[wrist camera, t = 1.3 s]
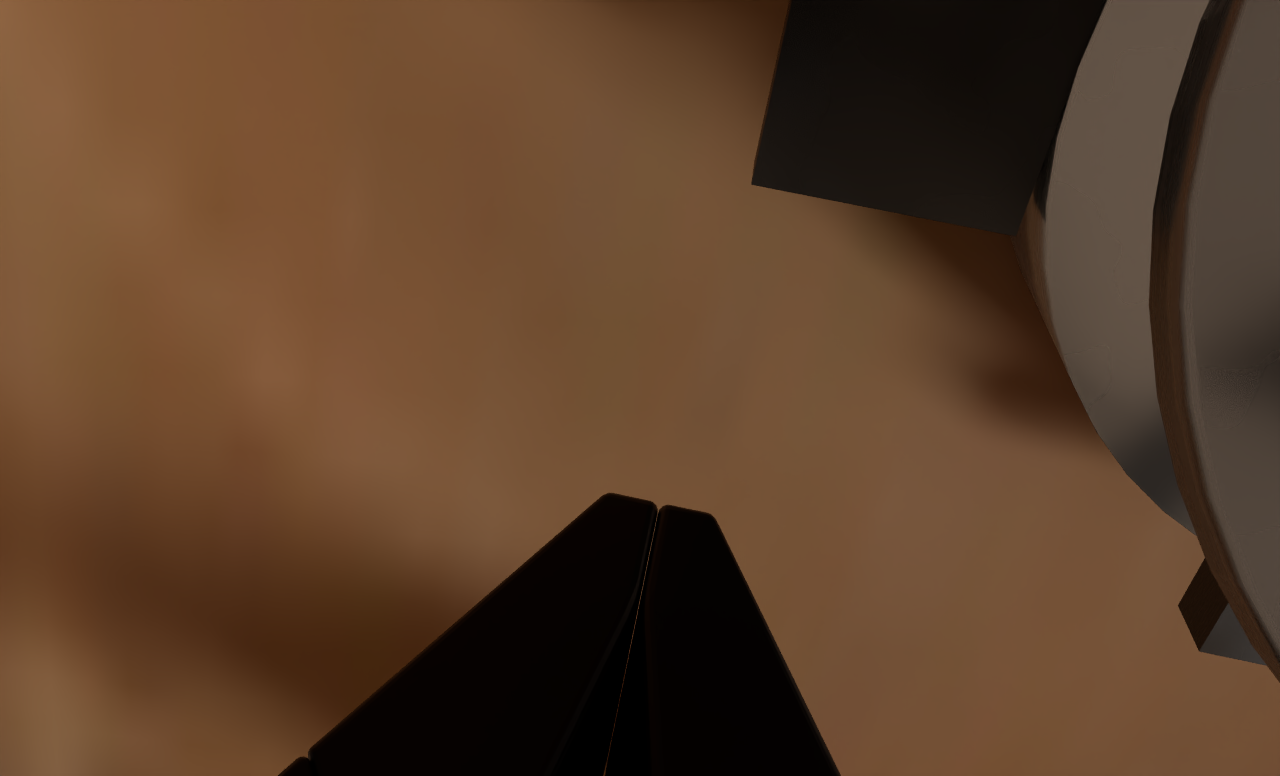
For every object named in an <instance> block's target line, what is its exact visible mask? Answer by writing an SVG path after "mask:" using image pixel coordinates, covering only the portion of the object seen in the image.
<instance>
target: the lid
mask: <svg viewBox="0 0 1280 776" xmlns="http://www.w3.org/2000/svg"><path fill="white" fill-rule="evenodd" d="M1149 314H1150V325H1151V336H1152V347H1153V359H1154V370H1155V381H1156V392H1157V399H1158V403H1159V407H1160V412H1161V416H1162V421H1163V425H1164V429H1165V434H1166V438H1167V442H1168V447H1169V451H1170V455H1171V460H1172V464H1173V468H1174V473H1175V477H1176V481H1177V485H1178V488H1179V490H1180V493H1181V496H1182V498H1183V501H1184V503H1185V506H1186V509H1187V511H1188V514H1189V517H1190V519H1191V522H1192V524H1193V527H1194V530H1195V532H1196V535H1197V538H1198V540H1199V543H1200V545H1201V548H1202V551H1203V553H1204V556H1205V559H1206V561H1207V564H1208V566H1209V568H1210V570H1211V572H1212V574H1213V576H1214V578H1215V579H1216V581H1217V583H1218V585H1219V587H1220V588H1221V590H1222V592H1223V594H1224V596H1225V598H1226V599H1227V601H1228V603H1229V605H1230V607H1231V608H1232V610H1233V612H1234V614H1235V616H1236V618H1237V619H1238V621H1239V623H1240V625H1241V627H1242V628H1243V630H1244V632H1245V634H1246V636H1247V638H1248V639H1249V641H1250V643H1251V645H1252V646H1253V648H1254V649H1255V650H1256V652H1257V653H1258V654H1259V656H1260V657H1261V658H1262V660H1263V661H1264V662H1265V664H1266V665H1267V666H1268V668H1269V669H1270V670H1271V672H1272V673H1273V674H1274V676H1275V677H1276V678H1277V680H1278V681H1279V682H1280V0H1209V3H1208V5H1207V7H1206V9H1205V11H1204V13H1203V16H1202V18H1201V20H1200V22H1199V25H1198V29H1197V32H1196V35H1195V38H1194V41H1193V44H1192V48H1191V51H1190V54H1189V57H1188V60H1187V63H1186V67H1185V70H1184V73H1183V76H1182V79H1181V82H1180V86H1179V89H1178V92H1177V95H1176V98H1175V101H1174V104H1173V108H1172V111H1171V114H1170V118H1169V124H1168V129H1167V135H1166V140H1165V146H1164V152H1163V157H1162V163H1161V168H1160V174H1159V179H1158V185H1157V191H1156V196H1155V202H1154V207H1153V220H1152V242H1151V264H1150V286H1149Z"/></svg>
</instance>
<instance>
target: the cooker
mask: <svg viewBox="0 0 1280 776" xmlns="http://www.w3.org/2000/svg"><path fill="white" fill-rule="evenodd" d="M1208 3H1209V0H789V5H788V10H787V14H786V19H785V23H784V28H783V33H782V37H781V42H780V46H779V51H778V55H777V60H776V65H775V69H774V74H773V78H772V83H771V88H770V92H769V97H768V101H767V106H766V111H765V115H764V120H763V124H762V129H761V133H760V138H759V143H758V147H757V152H756V156H755V161H754V169H753V176H752V184H751V185H756V186H761V187H766V188H771V189H777V190H782V191H787V192H792V193H797V194H802V195H807V196H812V197H817V198H823V199H828V200H833V201H838V202H843V203H848V204H853V205H858V206H863V207H869V208H874V209H879V210H884V211H889V212H894V213H899V214H904V215H909V216H914V217H920V218H925V219H930V220H935V221H940V222H945V223H950V224H955V225H960V226H966V227H971V228H976V229H981V230H986V231H991V232H996V233H1001V234H1006V235H1010V238H1011V241H1012V244H1013V247H1014V250H1015V254H1016V257H1017V260H1018V263H1019V266H1020V270H1021V272H1022V274H1023V277H1024V279H1025V281H1026V283H1027V285H1028V287H1029V290H1030V292H1031V294H1032V296H1033V298H1034V300H1035V303H1036V305H1037V307H1038V309H1039V311H1040V314H1041V316H1042V318H1043V320H1044V322H1045V324H1046V327H1047V329H1048V331H1049V333H1050V335H1051V337H1052V340H1053V342H1054V344H1055V346H1056V348H1057V350H1058V353H1059V355H1060V357H1061V359H1062V361H1063V364H1064V366H1065V368H1066V370H1067V372H1068V374H1069V377H1070V379H1071V381H1072V383H1073V385H1074V387H1075V389H1076V391H1077V393H1078V395H1079V397H1080V399H1081V401H1082V403H1083V406H1084V408H1085V410H1086V412H1087V414H1088V416H1089V418H1090V420H1091V422H1092V424H1093V426H1094V428H1095V430H1096V432H1097V433H1098V435H1099V436H1100V438H1101V439H1102V440H1103V442H1104V443H1105V445H1106V446H1107V447H1108V449H1109V450H1110V452H1111V453H1112V454H1113V456H1114V457H1115V458H1116V460H1117V461H1118V463H1119V464H1120V465H1121V467H1122V468H1123V470H1124V471H1125V472H1126V474H1127V475H1128V476H1129V477H1130V478H1131V479H1132V480H1133V481H1134V482H1135V483H1136V484H1137V485H1138V486H1139V487H1140V488H1141V489H1142V490H1143V491H1144V492H1145V493H1146V494H1147V495H1148V496H1149V497H1150V498H1151V499H1152V500H1153V501H1154V502H1155V503H1156V504H1157V505H1158V506H1159V507H1160V508H1161V509H1162V510H1163V511H1164V512H1165V513H1166V514H1168V515H1169V516H1170V517H1172V518H1173V519H1175V520H1176V521H1177V522H1179V523H1180V524H1181V525H1183V526H1184V527H1185V528H1187V529H1188V530H1189V531H1191V532H1192V533H1193V534H1195V535H1196V532H1195V530H1194V527H1193V524H1192V522H1191V519H1190V517H1189V514H1188V511H1187V509H1186V506H1185V503H1184V501H1183V498H1182V496H1181V493H1180V490H1179V488H1178V485H1177V481H1176V477H1175V473H1174V468H1173V464H1172V460H1171V455H1170V451H1169V447H1168V442H1167V438H1166V434H1165V429H1164V425H1163V421H1162V416H1161V412H1160V407H1159V403H1158V399H1157V392H1156V381H1155V370H1154V359H1153V347H1152V336H1151V325H1150V314H1149V286H1150V264H1151V242H1152V220H1153V207H1154V202H1155V196H1156V191H1157V185H1158V179H1159V174H1160V168H1161V163H1162V157H1163V152H1164V146H1165V140H1166V135H1167V129H1168V124H1169V118H1170V114H1171V111H1172V108H1173V104H1174V101H1175V98H1176V95H1177V92H1178V89H1179V86H1180V82H1181V79H1182V76H1183V73H1184V70H1185V67H1186V63H1187V60H1188V57H1189V54H1190V51H1191V48H1192V44H1193V41H1194V38H1195V35H1196V32H1197V29H1198V25H1199V22H1200V20H1201V18H1202V16H1203V13H1204V11H1205V9H1206V7H1207V5H1208ZM1196 536H1197V535H1196ZM1178 607H1179V609H1180V611H1181V613H1182V615H1183V618H1184V620H1185V622H1186V624H1187V626H1188V628H1189V630H1190V633H1191V635H1192V637H1193V639H1194V641H1195V643H1196V646H1197V648H1198V650H1199V651H1200V652H1205V653H1210V654H1214V655H1219V656H1224V657H1229V658H1233V659H1238V660H1243V661H1248V662H1252V663H1257V664H1262V665H1266V664H1265V662H1264V661H1263V660H1262V658H1261V657H1260V656H1259V654H1258V653H1257V652H1256V650H1255V649H1254V648H1253V646H1252V645H1251V643H1250V641H1249V639H1248V638H1247V636H1246V634H1245V632H1244V630H1243V628H1242V627H1241V625H1240V623H1239V621H1238V619H1237V618H1236V616H1235V614H1234V612H1233V610H1232V608H1231V607H1230V605H1229V603H1228V601H1227V599H1226V598H1225V596H1224V594H1223V592H1222V590H1221V588H1220V587H1219V585H1218V583H1217V581H1216V579H1215V578H1214V576H1213V574H1212V572H1211V570H1210V568H1209V566H1208V564H1207V561H1206V559H1204V561H1203V562H1202V564H1201V566H1200V568H1199V569H1198V571H1197V573H1196V575H1195V576H1194V578H1193V580H1192V582H1191V584H1190V585H1189V587H1188V589H1187V591H1186V592H1185V594H1184V596H1183V598H1182V599H1181V601H1180V603H1179V605H1178Z"/></svg>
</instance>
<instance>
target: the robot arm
mask: <svg viewBox="0 0 1280 776" xmlns="http://www.w3.org/2000/svg"><path fill="white" fill-rule="evenodd" d="M657 513H658V516H657ZM656 518H657V521H656ZM655 523H656V526H655ZM654 528H655V531H654ZM653 533H654V536H653ZM652 538H653V541H652ZM651 542H652V546H651ZM650 547H651V551H650ZM649 552H650V555H649ZM648 557H649V560H648ZM647 562H648V565H647ZM646 567H647V570H646ZM645 572H646V575H645ZM644 577H645V580H644ZM643 582H644V585H643ZM642 587H643V590H642ZM641 591H642V595H641ZM640 596H641V599H640ZM639 601H640V604H639ZM638 606H639V609H638ZM637 611H638V614H637ZM636 616H637V619H636ZM635 621H636V624H635ZM634 626H635V629H634ZM633 630H634V634H633ZM632 635H633V639H632ZM631 640H632V643H631ZM630 645H631V648H630ZM629 650H630V653H629ZM628 655H629V658H628ZM627 660H628V663H627ZM626 665H627V668H626ZM625 670H626V673H625ZM624 674H625V678H624ZM623 679H624V683H623ZM622 684H623V688H622ZM621 689H622V692H621ZM620 694H621V697H620ZM619 699H620V702H619ZM618 704H619V707H618ZM617 709H618V712H617ZM616 714H617V717H616ZM615 718H616V722H615ZM614 723H615V727H614ZM613 728H614V732H613ZM612 733H613V736H612ZM611 738H612V741H611ZM610 743H611V746H610ZM609 748H610V751H609ZM608 753H609V756H608ZM607 758H608V761H607ZM606 762H607V767H606V773H605V776H841V775H840V773H839V771H838V769H837V767H836V765H835V763H834V761H833V758H832V756H831V754H830V752H829V750H828V748H827V746H826V744H825V742H824V740H823V738H822V736H821V734H820V732H819V730H818V728H817V726H816V724H815V722H814V720H813V717H812V715H811V713H810V711H809V709H808V707H807V705H806V703H805V701H804V699H803V697H802V695H801V693H800V691H799V689H798V687H797V685H796V683H795V681H794V678H793V676H792V674H791V672H790V670H789V668H788V666H787V664H786V662H785V660H784V658H783V656H782V654H781V652H780V650H779V648H778V646H777V644H776V642H775V640H774V637H773V635H772V633H771V631H770V629H769V627H768V625H767V623H766V621H765V619H764V617H763V615H762V613H761V611H760V609H759V607H758V605H757V603H756V601H755V599H754V596H753V594H752V592H751V590H750V588H749V586H748V584H747V582H746V580H745V578H744V576H743V574H742V572H741V570H740V568H739V566H738V564H737V562H736V560H735V557H734V555H733V553H732V551H731V549H730V547H729V545H728V543H727V541H726V539H725V537H724V535H723V533H722V531H721V529H720V527H719V525H718V523H717V521H716V519H715V518H714V517H713V516H712V515H711V514H709V513H706V512H701V511H696V510H691V509H687V508H682V507H677V506H672V505H665V506H663V507H662V508H661V509H660V510H659V512H658V509H657V506H656V505H655V504H654V503H653V502H651V501H648V500H644V499H639V498H634V497H629V496H625V495H620V494H615V493H607V494H604V495H603V496H601V497H600V498H599V499H598V500H597V501H595V502H594V503H593V504H592V505H591V506H590V507H589V508H587V509H586V510H585V511H584V512H583V513H582V514H580V515H579V516H578V517H577V518H576V519H575V520H574V521H572V522H571V523H570V524H569V525H568V526H567V527H565V528H564V529H563V530H562V531H561V532H560V533H558V534H557V535H556V536H555V537H554V538H553V539H552V540H550V541H549V542H548V543H547V544H546V545H545V546H543V547H542V548H541V549H540V550H539V551H538V552H537V553H535V554H534V555H533V556H532V557H531V558H530V559H528V560H527V561H526V562H525V563H524V564H523V565H521V566H520V567H519V568H518V569H517V570H516V571H515V572H513V573H512V574H511V575H510V576H509V577H508V578H506V579H505V580H504V581H503V582H502V583H501V584H500V585H498V586H497V587H496V588H495V589H494V590H493V591H491V592H490V593H489V594H488V595H487V596H486V597H484V598H483V599H482V600H481V601H480V602H479V603H478V604H476V605H475V606H474V607H473V608H472V609H471V610H469V611H468V612H467V613H466V614H465V615H464V616H463V617H461V618H460V619H459V620H458V621H457V622H456V623H454V624H453V625H452V626H451V627H450V628H449V629H447V630H446V631H445V632H444V633H443V634H442V635H441V636H439V637H438V638H437V639H436V640H435V641H434V642H432V643H431V644H430V645H429V646H428V647H427V648H426V649H424V650H423V651H422V652H421V653H420V654H419V655H417V656H416V657H415V658H414V659H413V660H412V661H410V662H409V663H408V664H407V665H406V666H405V667H404V668H402V669H401V670H400V671H399V672H398V673H397V674H395V675H394V676H393V677H392V678H391V679H390V680H388V681H387V682H386V683H385V684H384V685H383V686H382V687H380V688H379V689H378V690H377V691H376V692H375V693H373V694H372V695H371V696H370V697H369V698H368V699H367V700H365V701H364V702H363V703H362V704H361V705H360V706H358V707H357V708H356V709H355V710H354V711H353V712H351V713H350V714H349V715H348V716H347V717H346V718H345V719H343V720H342V721H341V722H340V723H339V724H338V725H336V726H335V727H334V728H333V729H332V730H331V731H330V732H328V733H327V734H326V735H325V736H324V737H323V738H321V739H320V740H319V741H318V742H317V743H316V744H314V745H313V746H312V747H311V748H310V749H309V751H308V758H307V757H299V758H297V759H296V760H295V761H294V762H293V763H292V764H290V765H289V766H288V767H287V768H286V769H285V770H284V771H282V772H281V773H280V774H279V775H278V776H603V775H604V771H605V766H606Z"/></svg>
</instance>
